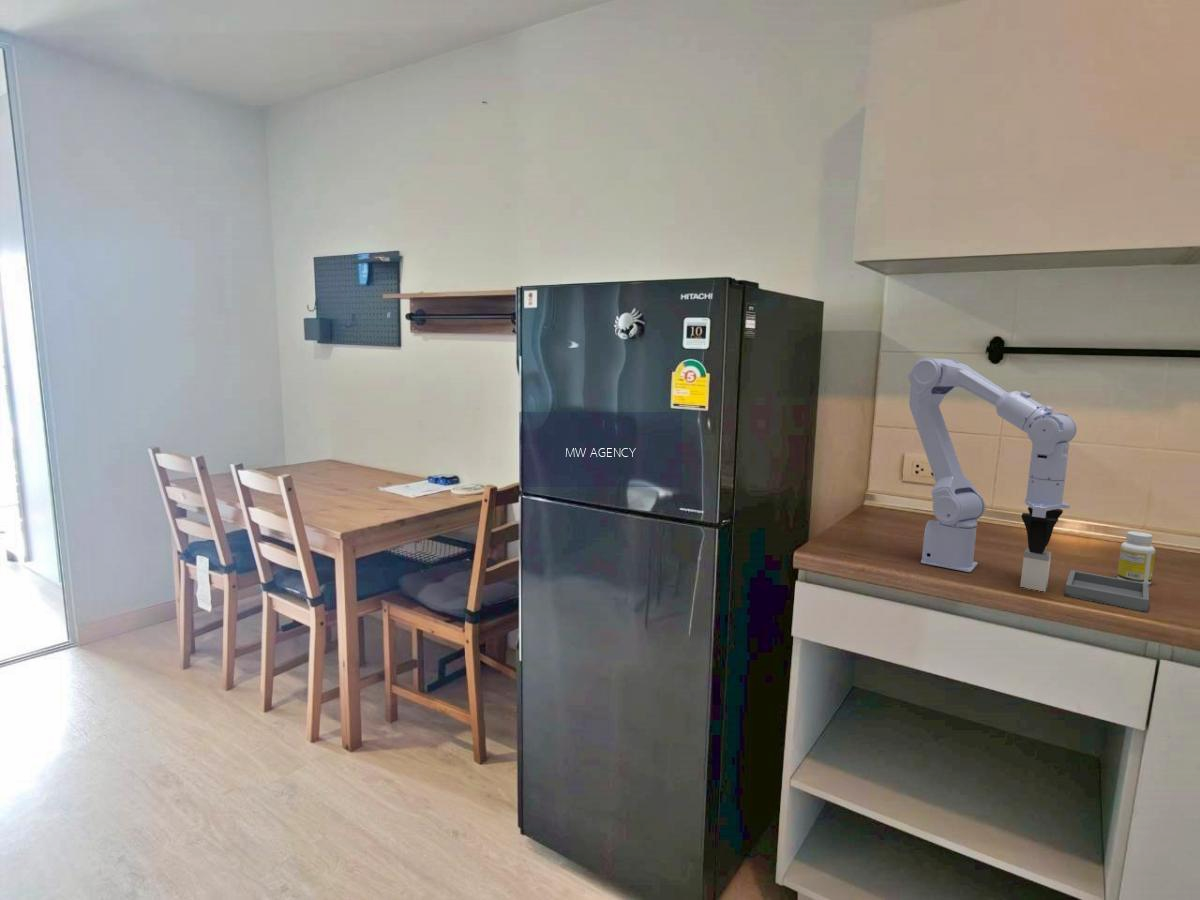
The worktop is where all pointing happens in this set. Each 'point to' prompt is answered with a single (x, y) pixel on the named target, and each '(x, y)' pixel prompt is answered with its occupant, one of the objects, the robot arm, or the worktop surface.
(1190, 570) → the worktop surface
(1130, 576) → the supplement bottle
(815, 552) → the worktop surface
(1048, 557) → the light grey tall block
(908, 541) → the worktop surface
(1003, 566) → the worktop surface
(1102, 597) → the tray
